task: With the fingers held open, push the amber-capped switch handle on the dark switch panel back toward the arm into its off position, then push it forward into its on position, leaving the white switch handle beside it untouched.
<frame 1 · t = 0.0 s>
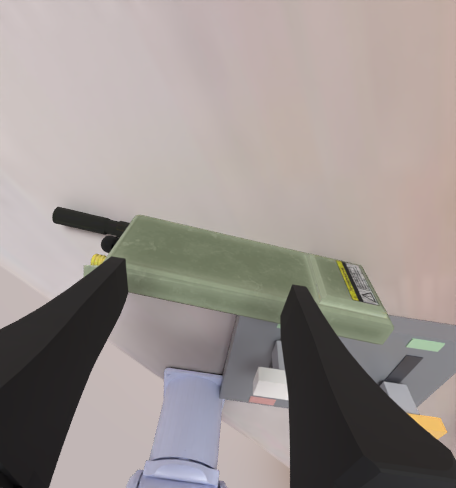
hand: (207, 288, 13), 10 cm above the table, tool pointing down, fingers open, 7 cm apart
white switch: (288, 369, 25), point 5 cm above the table, slide at 8.0 cm
switch panel: (328, 358, 32), on the table
handheld radio: (217, 240, 24), on the table
amber switch: (398, 409, 28), point 4 cm above the table, slide at 4.0 cm
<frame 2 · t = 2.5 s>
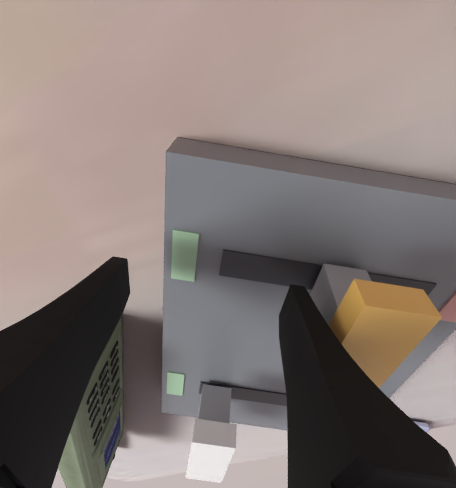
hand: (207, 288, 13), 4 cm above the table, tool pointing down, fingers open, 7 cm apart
white switch: (212, 426, 19), point 5 cm above the table, slide at 8.0 cm
switch panel: (288, 323, 19), on the table
handheld radio: (111, 391, 28), on the table
amber switch: (347, 320, 12), point 5 cm above the table, slide at 3.5 cm, touching gripper
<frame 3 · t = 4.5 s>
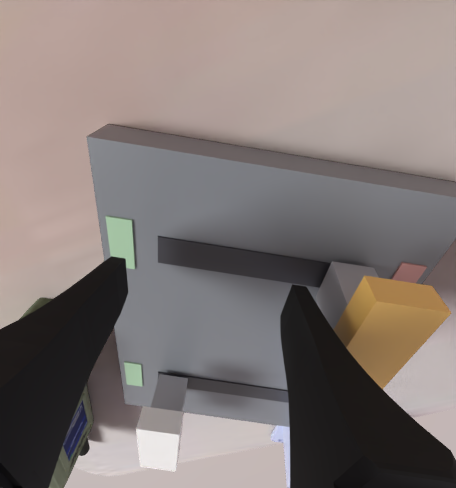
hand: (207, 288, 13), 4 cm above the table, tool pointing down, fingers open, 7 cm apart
white switch: (166, 415, 19), point 5 cm above the table, slide at 8.0 cm
switch panel: (242, 313, 19), on the table
handheld radio: (77, 383, 28), on the table
amber switch: (355, 316, 12), point 5 cm above the table, slide at 0.0 cm
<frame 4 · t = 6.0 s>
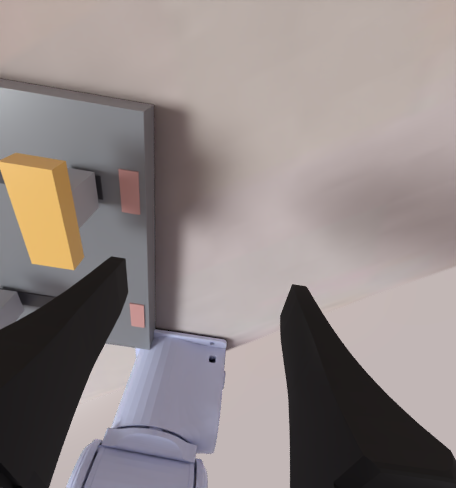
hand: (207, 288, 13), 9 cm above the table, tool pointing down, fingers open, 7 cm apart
switch panel: (56, 234, 23), on the table
amber switch: (62, 203, 16), point 4 cm above the table, slide at 0.0 cm
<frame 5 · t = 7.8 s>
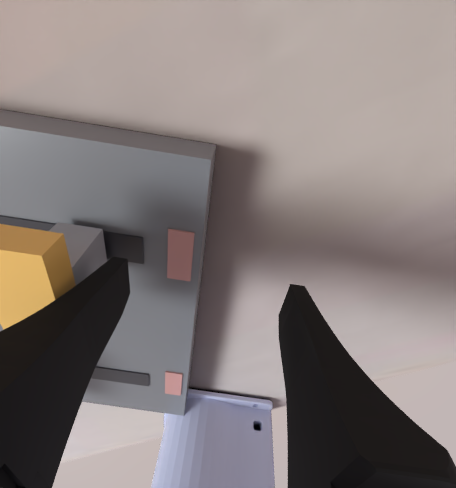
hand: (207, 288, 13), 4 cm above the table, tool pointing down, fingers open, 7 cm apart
switch panel: (77, 291, 19), on the table
amber switch: (60, 276, 12), point 5 cm above the table, slide at 1.5 cm, touching gripper
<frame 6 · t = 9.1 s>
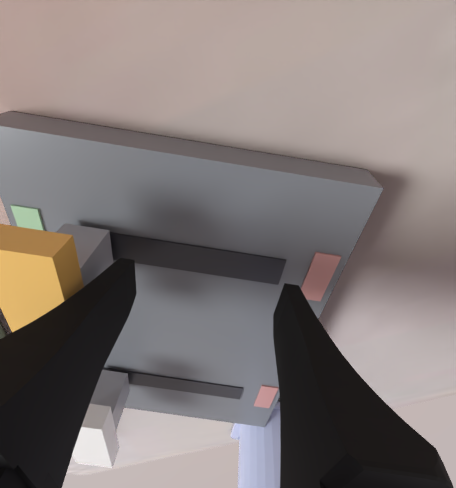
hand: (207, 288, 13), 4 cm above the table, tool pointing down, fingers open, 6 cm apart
white switch: (102, 411, 19), point 4 cm above the table, slide at 8.0 cm
switch panel: (180, 307, 19), on the table
amber switch: (67, 277, 12), point 4 cm above the table, slide at 8.1 cm, touching gripper
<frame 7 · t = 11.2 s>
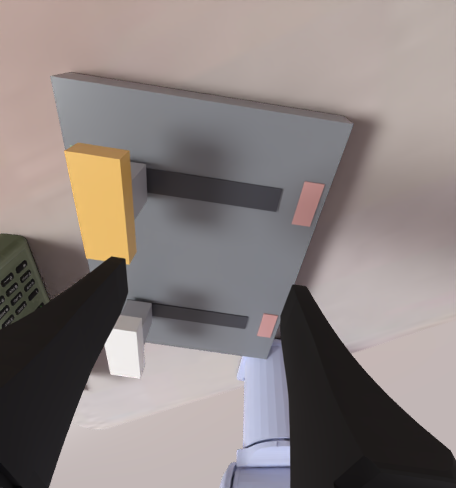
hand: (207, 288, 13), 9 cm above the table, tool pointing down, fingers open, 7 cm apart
white switch: (132, 331, 23), point 4 cm above the table, slide at 8.0 cm
switch panel: (195, 245, 23), on the table
handheld radio: (52, 325, 31), on the table
amber switch: (117, 195, 16), point 4 cm above the table, slide at 8.0 cm
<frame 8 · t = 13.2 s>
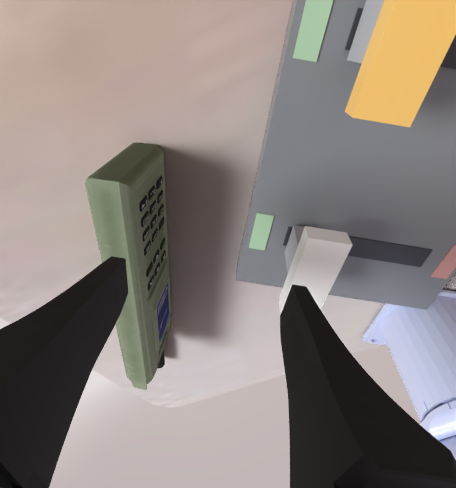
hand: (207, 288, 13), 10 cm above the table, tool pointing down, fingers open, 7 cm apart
white switch: (307, 260, 19), point 4 cm above the table, slide at 8.0 cm
switch panel: (383, 156, 19), on the table
handheld radio: (156, 275, 27), on the table
amber switch: (395, 32, 12), point 4 cm above the table, slide at 8.0 cm
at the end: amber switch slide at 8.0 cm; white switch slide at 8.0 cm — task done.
